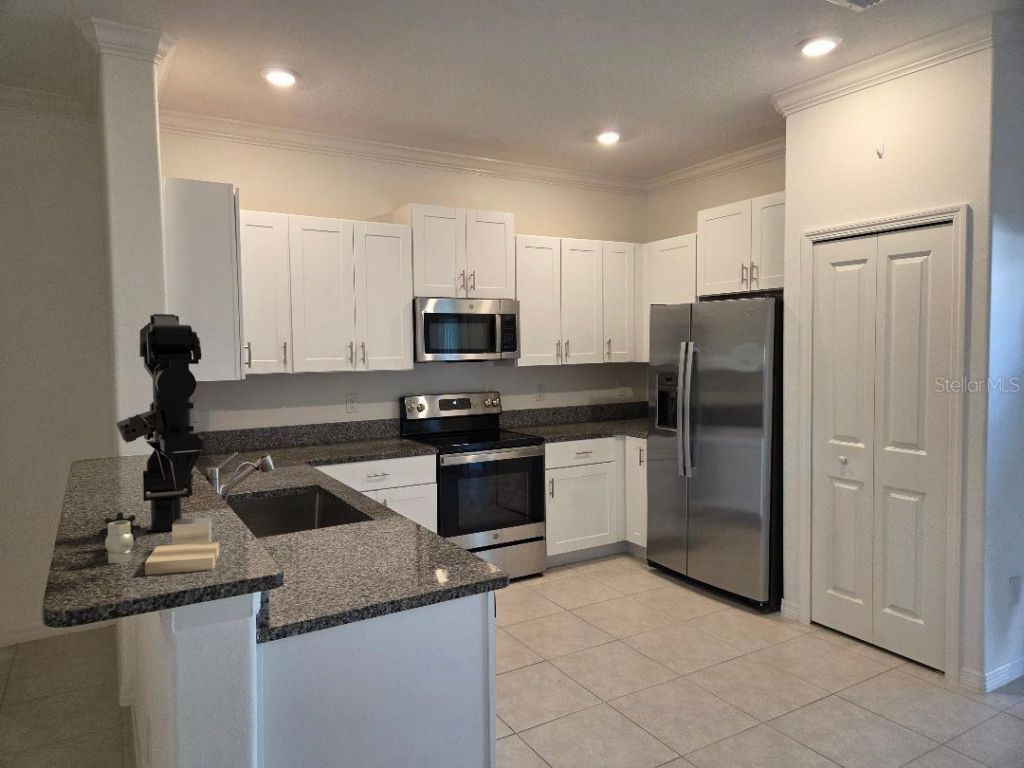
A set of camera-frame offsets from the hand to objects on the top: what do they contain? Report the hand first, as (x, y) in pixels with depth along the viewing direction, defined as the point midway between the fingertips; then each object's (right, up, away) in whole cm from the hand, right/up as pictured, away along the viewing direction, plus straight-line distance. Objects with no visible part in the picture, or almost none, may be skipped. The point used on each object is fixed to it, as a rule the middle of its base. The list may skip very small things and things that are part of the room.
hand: (173, 484), depth 122 cm
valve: (-9, -13, 0) cm, 16 cm away
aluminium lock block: (+1, -12, +4) cm, 13 cm away
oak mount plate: (+4, -13, -5) cm, 14 cm away
